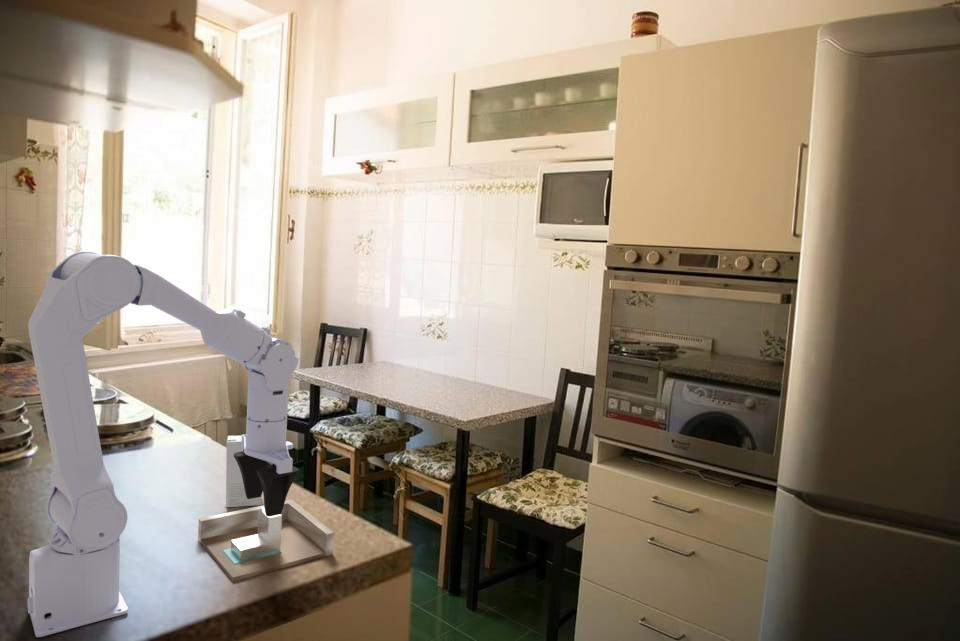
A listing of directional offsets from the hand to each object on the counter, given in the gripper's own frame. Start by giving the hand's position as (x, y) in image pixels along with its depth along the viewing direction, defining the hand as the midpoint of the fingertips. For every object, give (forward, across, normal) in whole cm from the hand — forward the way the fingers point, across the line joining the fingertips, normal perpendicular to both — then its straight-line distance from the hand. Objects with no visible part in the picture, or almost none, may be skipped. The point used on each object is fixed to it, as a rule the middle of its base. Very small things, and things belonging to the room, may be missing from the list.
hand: (263, 505), depth 96 cm
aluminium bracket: (+7, 0, +1) cm, 7 cm away
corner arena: (+7, +1, -1) cm, 7 cm away
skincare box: (+8, +20, -5) cm, 22 cm away
